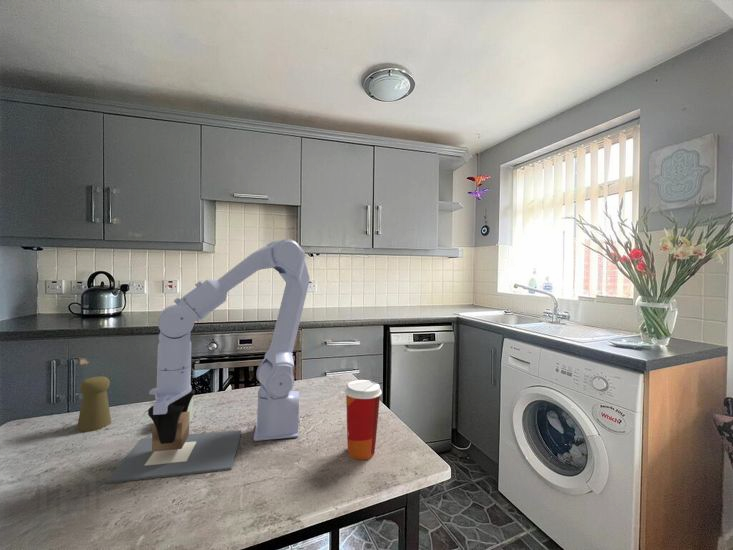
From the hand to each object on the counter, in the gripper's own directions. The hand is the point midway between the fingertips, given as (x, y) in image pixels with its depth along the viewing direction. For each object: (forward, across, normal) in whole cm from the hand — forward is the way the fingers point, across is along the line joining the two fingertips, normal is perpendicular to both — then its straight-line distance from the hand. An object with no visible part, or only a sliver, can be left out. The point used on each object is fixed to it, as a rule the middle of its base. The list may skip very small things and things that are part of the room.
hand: (172, 434), depth 63 cm
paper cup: (+4, +6, +37) cm, 38 cm away
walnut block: (+2, 0, 0) cm, 2 cm away
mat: (+4, 0, +2) cm, 4 cm away
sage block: (+4, -14, -3) cm, 15 cm away
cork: (+4, -16, -21) cm, 27 cm away
